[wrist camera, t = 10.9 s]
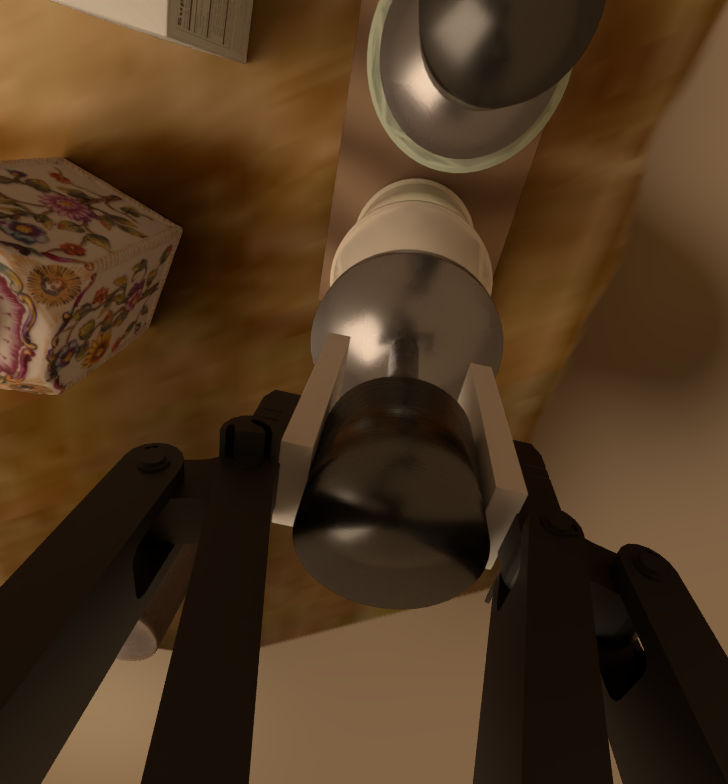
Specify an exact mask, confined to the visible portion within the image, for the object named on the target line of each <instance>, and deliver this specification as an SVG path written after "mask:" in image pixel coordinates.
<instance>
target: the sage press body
mask: <svg viewBox="0 0 728 784" xmlns="http://www.w3.org/2000/svg"><path fill="white" fill-rule="evenodd" d="M392 1H393V0H380V1H379V3H378V5H377V8H376V11H375V14H374V17H373V21H372V25H371V30H370V34H369V40H368V50H367V74H368V83H369V89H370V94H371V98H372V102H373V105H374V108H375V110H376V113H377V116H378V118H379V120H380V122H381V124H382V126H383V127H384V129H385V131H386V132H387V134H388V135H389V137H390V138H391V139H392V140H393V142H394V143H395V144H396V145H397V146H398V147H399V148H400V149H401V150H402V151H403V152H404V153H405V154H406V155H408V156H409V157H410V158H412V159H414V160H415V161H417V162H418V163H420V164H422V165H424V166H426V167H429V168H432V169H435V170H438V171H443V172H449V173H468V172H475V171H480V170H483V169H487V168H490V167H492V166H495V165H497V164H500V163H502V162H503V161H505V160H507V159H509V158H510V157H512V156H514V155H515V154H516V153H518V152H519V151H520V150H522V149H523V148H524V147H525V146H527V145H528V144H529V143H530V142H531V141H532V140H533V139H534V138H535V137H536V136H537V135H538V133H539V132H540V131H541V130H542V129H543V128H544V126H545V125H546V124H547V122H548V121H549V119H550V118H551V116H552V115H553V113H554V112H555V110H556V108H557V106H558V104H559V102H560V101H561V99H562V97H563V94H564V92H565V89H566V87H567V84H568V82H569V78H570V75H571V71H572V69H571V70H570V71H569V72H568V73H567V74H566V75H565V76H564V77H563V78H562V79H561V80H560V81H559V82H558V85H557V87H556V90H555V92H554V94H553V96H552V98H551V99H550V101H549V103H548V105H547V106H546V108H545V109H544V111H543V112H542V114H541V115H540V117H539V118H538V119H537V120H536V121H535V123H534V124H533V125H532V126H531V127H530V128H529V129H528V130H527V131H526V132H525V133H524V134H523V135H522V136H520V137H519V138H518V139H517V140H515V141H514V142H513V143H511V144H510V145H508V146H506V147H504V148H503V149H501V150H499V151H497V152H494V153H492V154H490V155H486V156H483V157H479V158H472V159H451V158H445V157H442V156H438V155H435V154H433V153H431V152H429V151H427V150H425V149H423V148H422V147H420V146H419V145H417V144H416V143H415V142H414V141H412V140H411V139H410V138H409V137H408V136H407V135H406V134H405V132H404V131H403V130H402V129H401V128H400V126H399V125H398V123H397V122H396V120H395V119H394V117H393V115H392V113H391V111H390V109H389V107H388V104H387V101H386V98H385V95H384V92H383V87H382V82H381V75H380V44H381V36H382V31H383V27H384V22H385V19H386V16H387V13H388V10H389V7H390V5H391V3H392ZM572 68H573V67H572Z"/></svg>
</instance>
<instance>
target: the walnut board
mask: <svg viewBox="0 0 728 784" xmlns="http://www.w3.org/2000/svg"><path fill="white" fill-rule="evenodd" d="M379 1H380V0H362V1H361V8H360V14H359V21H358V28H357V35H356V42H355V49H354V56H353V63H352V70H351V77H350V83H349V90H348V97H347V104H346V111H345V118H344V125H343V132H342V139H341V146H340V152H339V159H338V166H337V173H336V180H335V187H334V194H333V201H332V208H331V214H330V221H329V228H328V235H327V242H326V249H325V256H324V263H323V270H322V277H321V283H320V290H319V297H318V300H319V301H322V300H323V298H324V296H325V294H326V293H327V291H328V290H329V288H330V274H331V267H332V263H333V259H334V257H335V254H336V251H337V249H338V247H339V245H340V243H341V241H342V240H343V239H344V237H345V236H346V234H347V233H348V232H349V230H350V229H351V228H352V227H353V226H354V225H355V224H356V222H357V220H358V217H359V215H360V213H361V211H362V209H363V208H364V207H365V205H366V204H367V202H368V201H369V200H370V199H371V198H372V197H373V196H374V195H375V194H376V193H377V192H378V191H379V190H381V189H382V188H384V187H385V186H387V185H389V184H391V183H393V182H396V181H399V180H403V179H409V178H423V179H429V180H432V181H436V182H438V183H440V184H442V185H444V186H446V187H447V188H449V189H451V190H452V191H453V192H454V193H455V194H456V195H457V196H458V197H459V198H460V199H461V200H462V202H463V203H464V205H465V206H466V208H467V210H468V212H469V214H470V216H471V219H472V222H473V226H474V229H475V231H476V232H477V233H478V235H479V237H480V238H481V240H482V241H483V243H484V245H485V248H486V250H487V252H488V255H489V258H490V262H491V267H492V274H493V276H494V273H495V270H496V267H497V264H498V262H499V259H500V256H501V253H502V250H503V247H504V244H505V241H506V238H507V235H508V232H509V229H510V226H511V224H512V221H513V218H514V215H515V212H516V209H517V206H518V203H519V200H520V197H521V194H522V191H523V189H524V186H525V183H526V180H527V177H528V174H529V171H530V168H531V165H532V162H533V159H534V156H535V153H536V151H537V148H538V145H539V142H540V139H541V136H542V133H543V130H544V128H543V129H542V130H541V131H540V132H539V133H538V135H537V136H536V137H535V138H534V139H533V140H532V141H531V142H530V143H529V144H528V145H527V146H525V147H524V148H523V149H522V150H520V151H519V152H518V153H516V154H515V155H514V156H512V157H510V158H509V159H507V160H505V161H503V162H502V163H500V164H497V165H495V166H492V167H490V168H487V169H483V170H480V171H475V172H468V173H449V172H443V171H438V170H435V169H432V168H429V167H426V166H424V165H422V164H420V163H418V162H417V161H415V160H414V159H412V158H410V157H409V156H408V155H406V154H405V153H404V152H403V151H402V150H401V149H400V148H399V147H398V146H397V145H396V144H395V143H394V142H393V140H392V139H391V138H390V137H389V135H388V134H387V132H386V131H385V129H384V127H383V126H382V124H381V122H380V120H379V118H378V116H377V113H376V110H375V108H374V105H373V102H372V98H371V94H370V89H369V83H368V74H367V50H368V40H369V34H370V30H371V25H372V21H373V17H374V14H375V11H376V8H377V5H378V3H379ZM544 127H545V126H544Z"/></svg>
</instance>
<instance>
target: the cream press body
mask: <svg viewBox="0 0 728 784" xmlns="http://www.w3.org/2000/svg"><path fill="white" fill-rule="evenodd" d="M401 249H414V250H422V251H429V252H432V253H436V254H439V255H442V256H445V257H447V258H449V259H451V260H453V261H455V262H457V263H458V264H460V265H462V266H463V267H465V268H466V269H467V270H468V271H470V272H471V273H472V274H473V275H474V276H475V277H476V278H477V279H478V280H479V281H480V282H481V283H482V285H483V286H484V287H485V289H486V290H487V292H488V293H489V295H490V297H491V293H492V286H493V274H492V267H491V262H490V258H489V255H488V252H487V250H486V248H485V245H484V243H483V241H482V240H481V238H480V237H479V235H478V233H477V232H476V231H475V229H474V226H473V222H472V219H471V216H470V214H469V212H468V210H467V208H466V206H465V205H464V203H463V202H462V200H461V199H460V198H459V197H458V196H457V195H456V194H455V193H454V192H453V191H452V190H451V189H449V188H447V187H446V186H444V185H442V184H440V183H438V182H436V181H432V180H429V179H423V178H409V179H403V180H399V181H396V182H393V183H391V184H389V185H387V186H385V187H384V188H382V189H381V190H379V191H378V192H377V193H376V194H375V195H374V196H373V197H372V198H371V199H370V200H369V201H368V202H367V204H366V205H365V207H364V208H363V209H362V211H361V213H360V215H359V217H358V220H357V222H356V224H355V225H354V226H353V227H352V228H351V229H350V230H349V232H348V233H347V234H346V236H345V237H344V239H343V240H342V241H341V243H340V245H339V247H338V249H337V251H336V254H335V257H334V259H333V263H332V267H331V274H330V287H331V286H332V284H333V283H334V282H335V281H336V280H337V279H338V278H339V277H340V276H341V274H342V273H344V272H345V271H346V270H348V269H349V268H350V267H351V266H353V265H354V264H356V263H358V262H360V261H361V260H363V259H365V258H368V257H370V256H373V255H375V254H379V253H383V252H386V251H392V250H401Z"/></svg>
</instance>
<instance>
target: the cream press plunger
mask: <svg viewBox="0 0 728 784" xmlns="http://www.w3.org/2000/svg"><path fill="white" fill-rule="evenodd" d="M330 332H331V333H335V334H340V335H345V336H349V337H351V338H350V343H349V348H348V354H347V359H346V365H345V370H344V376H343V381H342V386H341V392H340V397H339V400H338V401H337V402H336V403H335V405H334V406H333V408H332V409H331V411H330V413H329V416H328V419H327V422H326V425H325V428H324V431H323V434H322V437H321V440H320V443H319V446H318V449H317V453H316V456H315V459H314V462H313V465H312V468H311V471H310V474H309V477H308V480H307V483H306V486H305V489H304V492H303V495H302V498H301V501H300V504H299V507H298V510H297V513H296V516H295V520H294V524H293V543H294V546H295V550H296V553H297V555H298V557H299V559H300V561H301V562H302V564H303V565H304V567H305V568H306V570H307V571H308V572H309V573H310V574H311V575H312V576H313V577H314V578H315V579H316V580H317V581H318V582H319V583H321V584H322V585H323V586H325V587H326V588H328V589H329V590H331V591H333V592H334V593H336V594H338V595H340V596H342V597H344V598H346V599H349V600H352V601H354V602H357V603H360V604H364V605H368V606H372V607H378V608H385V609H417V608H423V607H429V606H432V605H436V604H440V603H442V602H445V601H448V600H450V599H452V598H454V597H456V596H458V595H460V594H461V593H463V592H464V591H466V590H467V589H468V588H469V587H470V586H472V585H473V584H474V583H475V582H476V581H477V579H478V578H479V577H480V576H481V574H482V573H483V571H484V569H485V567H486V565H487V562H488V560H489V555H490V537H489V531H488V525H487V519H486V513H485V506H484V500H483V494H482V488H481V482H480V476H479V470H478V464H477V458H476V452H475V445H474V439H473V433H472V428H471V424H470V421H469V419H468V417H467V415H466V413H465V411H464V409H463V408H462V407H461V406H460V404H459V403H458V402H457V401H458V398H459V395H460V393H461V390H462V387H463V384H464V381H465V378H466V375H467V372H468V369H469V366H470V363H474V364H479V365H484V366H488V367H492V371H493V374H494V378H495V377H496V375H497V372H498V370H499V366H500V363H501V359H502V353H503V332H502V325H501V322H500V319H499V315H498V312H497V310H496V307H495V305H494V303H493V301H492V299H491V297H490V295H489V293H488V292H487V290H486V289H485V287H484V286H483V285H482V283H481V282H480V281H479V280H478V279H477V278H476V277H475V276H474V275H473V274H472V273H471V272H470V271H468V270H467V269H466V268H465V267H463V266H462V265H460V264H458V263H457V262H455V261H453V260H451V259H449V258H447V257H445V256H442V255H439V254H436V253H432V252H429V251H422V250H414V249H401V250H392V251H386V252H383V253H379V254H375V255H373V256H370V257H368V258H365V259H363V260H361V261H360V262H358V263H356V264H354V265H353V266H351V267H350V268H349V269H348V270H346V271H345V272H344V273H342V274H341V276H340V277H339V278H338V279H337V280H336V281H335V282H334V283H333V284H332V286H331V287H330V288H329V290H328V291H327V293H326V294H325V296H324V298H323V300H322V301H321V303H320V305H319V307H318V309H317V312H316V315H315V317H314V321H313V325H312V330H311V353H312V358H313V363H314V366H315V364H316V362H317V360H318V358H319V355H320V353H321V351H322V349H323V346H324V344H325V342H326V340H327V338H328V335H329V333H330Z"/></svg>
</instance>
